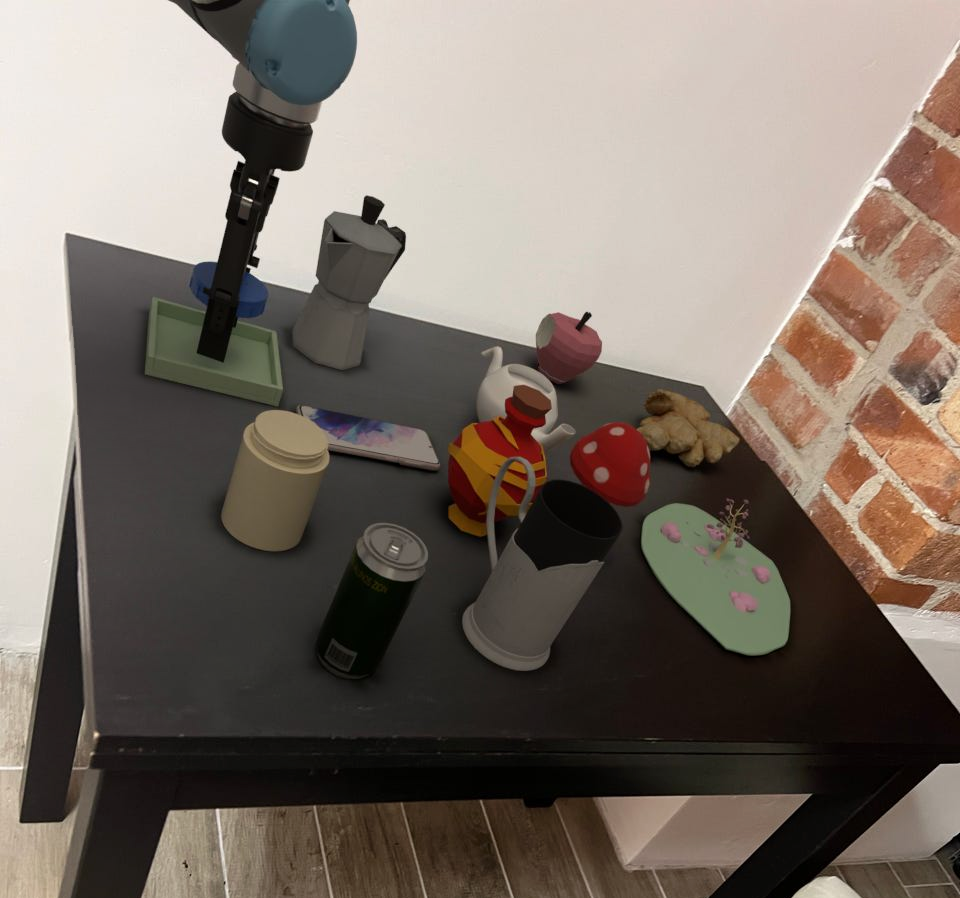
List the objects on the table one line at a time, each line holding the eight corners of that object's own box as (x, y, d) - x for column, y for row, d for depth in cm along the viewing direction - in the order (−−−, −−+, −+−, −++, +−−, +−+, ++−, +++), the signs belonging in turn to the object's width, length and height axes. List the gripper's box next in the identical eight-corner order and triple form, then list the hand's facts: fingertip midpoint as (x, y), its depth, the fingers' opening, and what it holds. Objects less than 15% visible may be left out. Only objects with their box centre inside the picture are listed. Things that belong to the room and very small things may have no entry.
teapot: (494, 400, 116) (525, 336, 110) (567, 502, 105) (605, 436, 99) (430, 392, 110) (459, 323, 105) (500, 498, 99) (536, 428, 94)
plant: (834, 672, 102) (888, 616, 97) (687, 648, 94) (737, 585, 88) (746, 530, 119) (788, 476, 113) (614, 499, 110) (652, 438, 105)
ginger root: (707, 424, 136) (738, 385, 130) (716, 502, 127) (750, 465, 121) (614, 390, 132) (641, 348, 125) (616, 469, 123) (646, 428, 117)
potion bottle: (410, 483, 94) (465, 357, 85) (493, 492, 100) (554, 374, 91) (445, 552, 88) (509, 424, 79) (531, 557, 94) (600, 438, 85)
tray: (144, 374, 89) (148, 355, 88) (148, 314, 97) (152, 296, 96) (278, 407, 94) (283, 389, 93) (271, 347, 102) (276, 331, 101)
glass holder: (493, 677, 78) (572, 547, 69) (417, 564, 85) (480, 433, 76) (566, 663, 84) (648, 541, 74) (489, 559, 90) (556, 435, 81)
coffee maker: (319, 379, 102) (370, 224, 91) (262, 336, 103) (305, 179, 92) (395, 357, 113) (448, 217, 102) (342, 318, 115) (389, 176, 104)
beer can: (368, 692, 71) (422, 581, 64) (304, 664, 70) (351, 549, 63) (385, 649, 75) (437, 541, 68) (324, 623, 74) (371, 510, 67)
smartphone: (296, 402, 95) (426, 429, 102) (293, 410, 95) (424, 436, 102) (307, 441, 90) (443, 466, 97) (304, 449, 91) (439, 473, 98)
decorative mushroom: (523, 507, 100) (585, 391, 91) (591, 527, 103) (659, 417, 94) (535, 564, 93) (604, 445, 84) (608, 585, 96) (683, 472, 87)
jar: (221, 543, 76) (249, 447, 70) (220, 490, 81) (245, 396, 75) (305, 557, 79) (338, 467, 73) (299, 506, 84) (330, 417, 78)
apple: (519, 351, 130) (549, 287, 124) (572, 370, 133) (604, 308, 127) (528, 385, 123) (561, 319, 117) (584, 404, 126) (619, 341, 120)
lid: (268, 296, 95) (272, 281, 94) (258, 327, 90) (263, 310, 88) (197, 269, 93) (200, 253, 92) (183, 298, 87) (186, 281, 86)
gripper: (246, 63, 86) (197, 285, 100) (211, 120, 71) (159, 371, 86) (323, 97, 88) (265, 310, 102) (304, 160, 74) (239, 398, 88)
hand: (217, 338), depth 94 cm, fingers closed on lid, 7 cm apart
